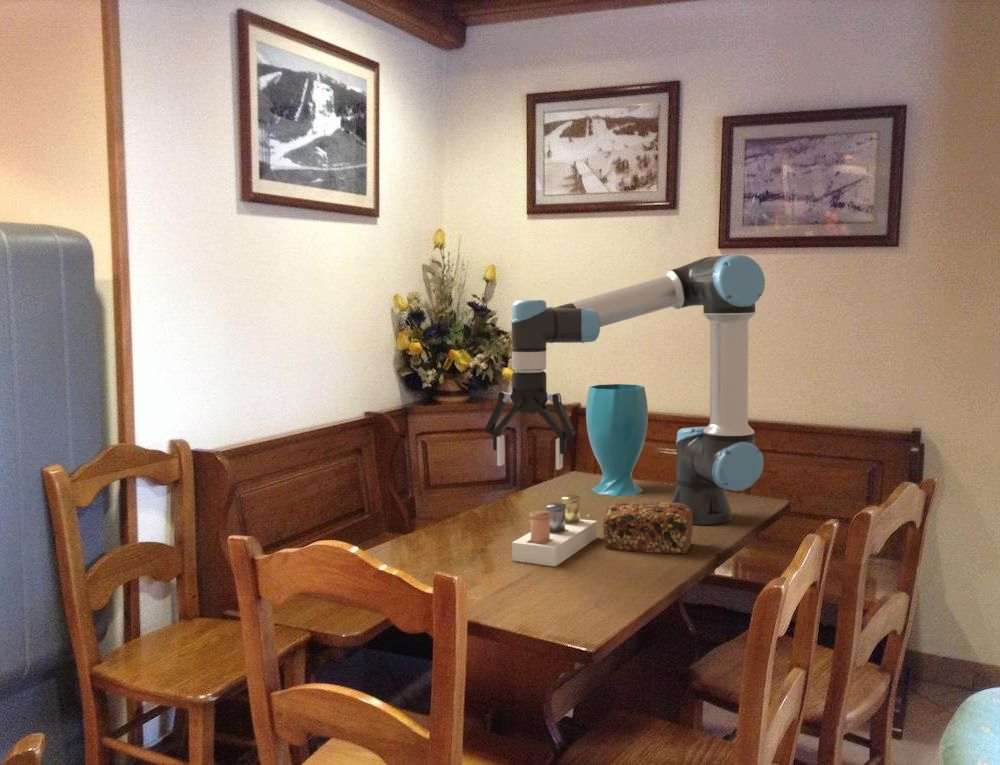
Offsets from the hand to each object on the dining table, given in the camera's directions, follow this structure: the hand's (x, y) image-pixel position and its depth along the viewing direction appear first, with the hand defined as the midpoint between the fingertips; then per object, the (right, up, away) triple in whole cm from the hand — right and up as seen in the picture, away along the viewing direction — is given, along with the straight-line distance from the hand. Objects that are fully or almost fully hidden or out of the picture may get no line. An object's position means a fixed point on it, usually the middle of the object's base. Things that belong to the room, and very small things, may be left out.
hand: (529, 466), depth 195 cm
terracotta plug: (+2, -15, -6) cm, 16 cm away
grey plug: (+6, -14, +2) cm, 16 cm away
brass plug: (+10, -14, +9) cm, 19 cm away
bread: (+27, -18, +3) cm, 33 cm away
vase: (+27, -13, +60) cm, 67 cm away
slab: (+6, -19, +2) cm, 20 cm away
